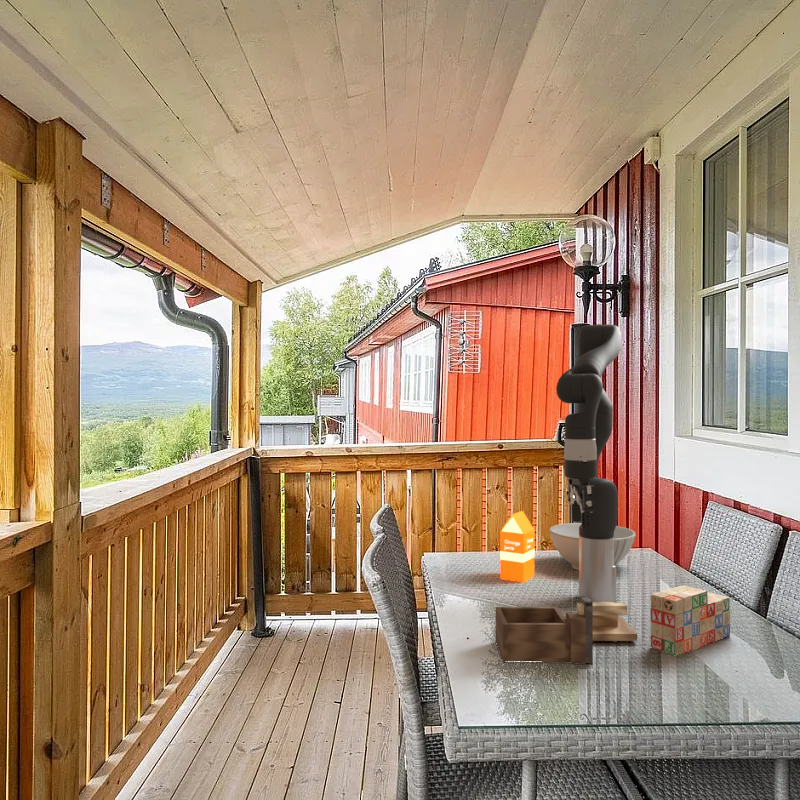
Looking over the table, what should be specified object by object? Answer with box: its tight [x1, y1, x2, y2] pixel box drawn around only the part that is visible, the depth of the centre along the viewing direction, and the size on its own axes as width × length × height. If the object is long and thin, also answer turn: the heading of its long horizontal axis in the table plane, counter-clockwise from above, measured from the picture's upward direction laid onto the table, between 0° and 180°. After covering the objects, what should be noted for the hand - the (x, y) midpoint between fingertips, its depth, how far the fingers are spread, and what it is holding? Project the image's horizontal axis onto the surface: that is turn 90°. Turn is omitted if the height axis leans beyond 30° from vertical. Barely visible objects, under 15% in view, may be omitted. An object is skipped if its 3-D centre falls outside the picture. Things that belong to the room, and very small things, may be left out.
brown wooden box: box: [495, 596, 594, 665], centre depth 150 cm, size 18×13×13 cm
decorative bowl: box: [548, 522, 636, 571], centre depth 224 cm, size 27×27×12 cm
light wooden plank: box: [576, 602, 628, 616], centre depth 146 cm, size 10×2×2 cm, turn 90°
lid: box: [564, 602, 638, 643], centre depth 162 cm, size 14×12×8 cm
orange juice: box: [499, 510, 536, 584], centre depth 212 cm, size 8×9×20 cm
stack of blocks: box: [650, 584, 731, 657], centre depth 157 cm, size 21×6×12 cm, turn 124°
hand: (581, 525), depth 165 cm, fingers open, 8 cm apart
